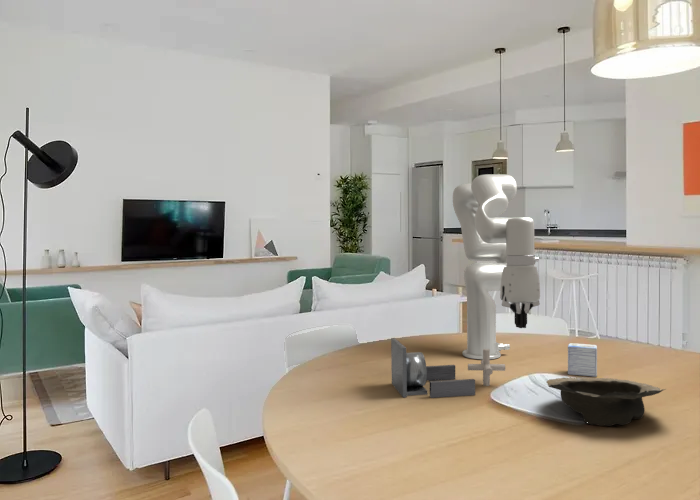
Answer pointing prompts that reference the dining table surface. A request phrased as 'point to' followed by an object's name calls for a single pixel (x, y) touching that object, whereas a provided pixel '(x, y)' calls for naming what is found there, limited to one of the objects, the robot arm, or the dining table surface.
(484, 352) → the pipe connector
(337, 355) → the dining table surface
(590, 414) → the stone bowl
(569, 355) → the medicine box
